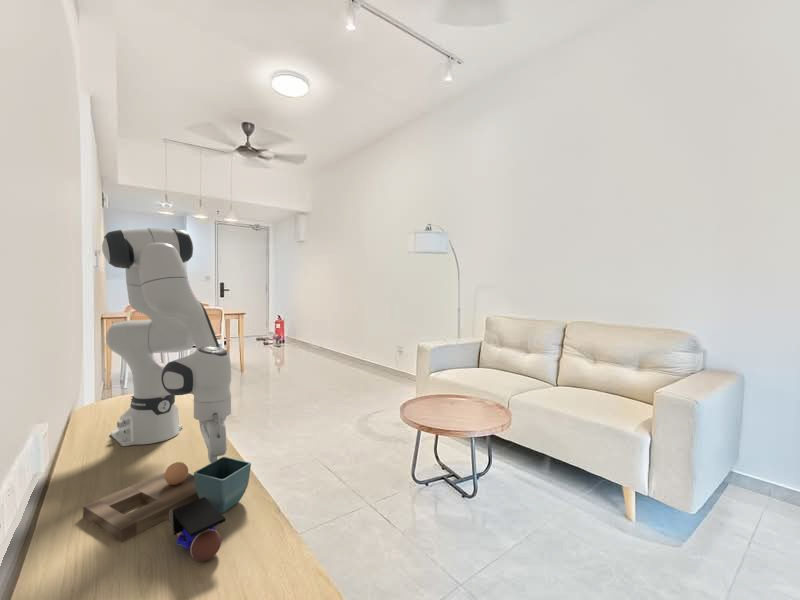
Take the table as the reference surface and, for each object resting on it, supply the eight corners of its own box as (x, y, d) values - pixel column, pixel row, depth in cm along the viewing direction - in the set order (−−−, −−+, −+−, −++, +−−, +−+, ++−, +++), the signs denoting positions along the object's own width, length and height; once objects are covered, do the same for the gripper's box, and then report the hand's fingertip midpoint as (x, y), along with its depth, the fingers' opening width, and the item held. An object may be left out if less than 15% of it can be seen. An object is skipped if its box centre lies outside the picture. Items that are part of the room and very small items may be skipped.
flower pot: (222, 521, 81) (222, 480, 80) (192, 511, 84) (192, 472, 83) (252, 499, 89) (252, 462, 88) (223, 492, 92) (223, 456, 92)
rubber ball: (160, 485, 90) (159, 464, 89) (180, 476, 94) (180, 456, 94) (172, 491, 87) (172, 470, 87) (192, 481, 92) (192, 461, 91)
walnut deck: (83, 517, 81) (83, 505, 81) (175, 477, 98) (175, 467, 98) (121, 542, 73) (121, 529, 73) (214, 494, 91) (214, 484, 91)
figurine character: (165, 542, 76) (191, 574, 65) (164, 504, 76) (189, 529, 66) (201, 527, 81) (230, 554, 70) (199, 491, 81) (228, 512, 71)
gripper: (233, 418, 92) (233, 473, 92) (219, 397, 109) (219, 444, 109) (204, 422, 88) (204, 480, 88) (195, 400, 105) (195, 449, 105)
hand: (212, 460), depth 99 cm, fingers closed
